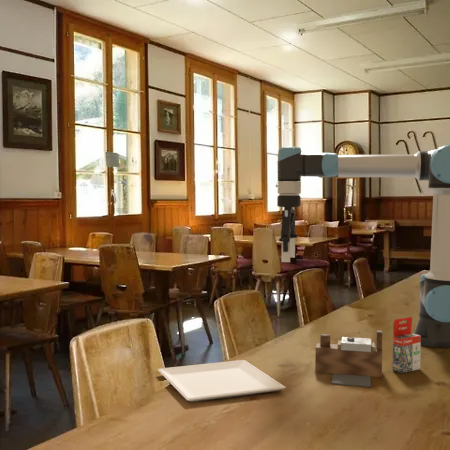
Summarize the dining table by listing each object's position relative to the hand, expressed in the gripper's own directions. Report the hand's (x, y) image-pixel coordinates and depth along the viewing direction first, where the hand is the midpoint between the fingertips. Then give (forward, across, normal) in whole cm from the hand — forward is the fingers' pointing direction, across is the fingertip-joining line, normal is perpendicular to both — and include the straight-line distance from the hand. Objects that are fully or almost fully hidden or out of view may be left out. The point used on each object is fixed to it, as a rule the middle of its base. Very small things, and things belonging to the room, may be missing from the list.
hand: (288, 259), depth 202 cm
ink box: (+28, +21, +36) cm, 51 cm away
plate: (+28, +46, -12) cm, 56 cm away
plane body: (+28, +27, +20) cm, 44 cm away
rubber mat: (+28, +35, +22) cm, 50 cm away
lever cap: (+21, +27, +22) cm, 41 cm away
